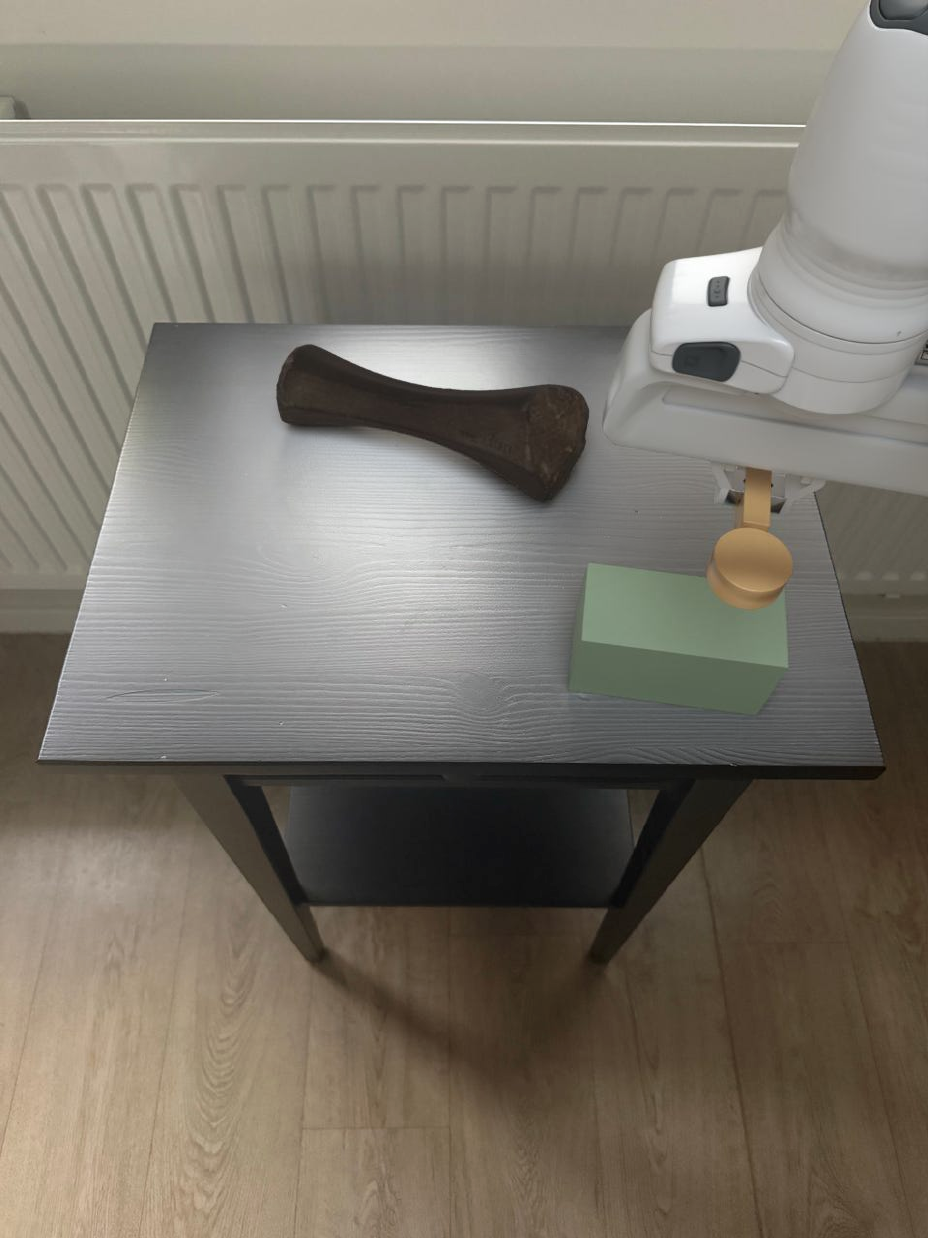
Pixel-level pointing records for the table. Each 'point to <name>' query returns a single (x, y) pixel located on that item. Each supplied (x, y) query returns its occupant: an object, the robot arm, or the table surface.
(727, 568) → the spoon
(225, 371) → the table surface
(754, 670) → the sage green box
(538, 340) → the table surface
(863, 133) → the robot arm
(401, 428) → the dark brown bone
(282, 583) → the table surface
